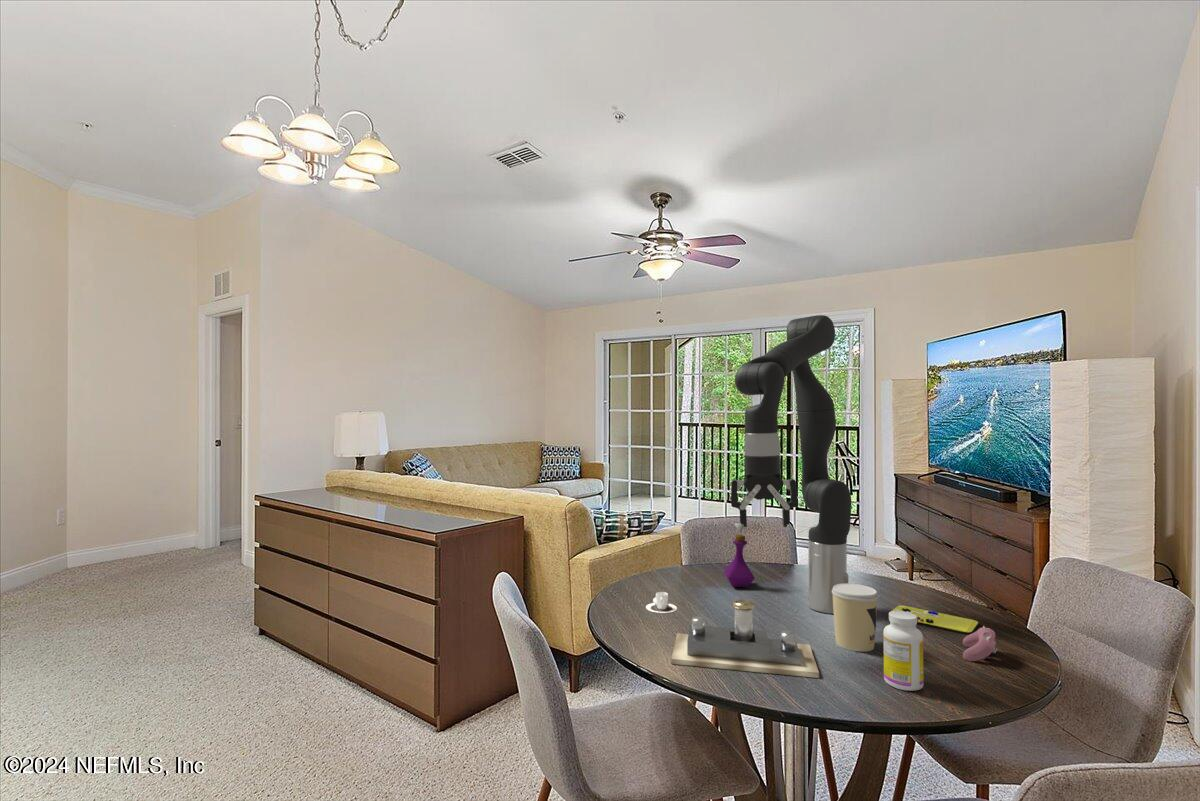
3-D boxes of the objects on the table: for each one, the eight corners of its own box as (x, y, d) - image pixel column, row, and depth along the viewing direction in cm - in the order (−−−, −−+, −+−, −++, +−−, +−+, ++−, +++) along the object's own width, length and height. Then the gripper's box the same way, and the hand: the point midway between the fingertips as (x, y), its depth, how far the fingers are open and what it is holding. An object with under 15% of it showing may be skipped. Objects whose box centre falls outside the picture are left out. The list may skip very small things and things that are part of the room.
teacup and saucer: (654, 601, 159) (654, 586, 159) (682, 606, 156) (682, 591, 156) (640, 611, 152) (640, 595, 152) (670, 616, 148) (670, 600, 148)
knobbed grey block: (795, 647, 125) (796, 619, 125) (800, 665, 117) (801, 634, 117) (690, 638, 130) (690, 610, 130) (687, 655, 121) (687, 625, 121)
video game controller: (984, 672, 120) (1003, 644, 118) (960, 658, 122) (978, 630, 121) (982, 655, 128) (1000, 629, 127) (960, 642, 130) (977, 616, 129)
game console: (979, 625, 144) (979, 619, 144) (971, 638, 135) (971, 631, 135) (898, 608, 156) (898, 603, 156) (886, 620, 147) (886, 613, 147)
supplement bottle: (908, 675, 115) (908, 608, 115) (931, 691, 108) (931, 620, 109) (876, 677, 114) (876, 609, 114) (897, 693, 108) (897, 621, 108)
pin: (753, 648, 125) (753, 600, 125) (754, 656, 121) (754, 606, 121) (732, 646, 126) (733, 598, 126) (733, 654, 122) (733, 605, 122)
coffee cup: (880, 656, 124) (880, 597, 124) (832, 649, 127) (832, 592, 127) (876, 640, 133) (876, 585, 133) (831, 634, 136) (831, 581, 136)
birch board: (809, 649, 127) (809, 644, 127) (819, 678, 113) (819, 672, 113) (677, 637, 133) (677, 633, 133) (671, 663, 119) (671, 658, 119)
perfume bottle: (754, 589, 169) (755, 526, 170) (728, 589, 169) (728, 525, 170) (748, 582, 177) (748, 521, 177) (723, 581, 177) (723, 521, 177)
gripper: (793, 451, 134) (796, 523, 134) (728, 452, 137) (731, 522, 137) (798, 454, 127) (800, 530, 127) (729, 455, 130) (732, 529, 130)
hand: (764, 526), depth 132 cm, fingers open, 8 cm apart
